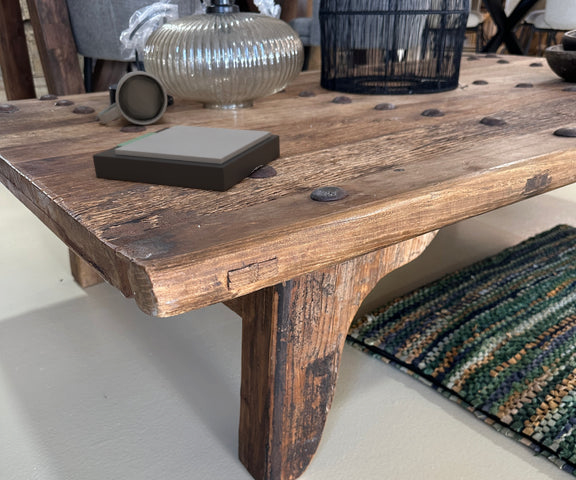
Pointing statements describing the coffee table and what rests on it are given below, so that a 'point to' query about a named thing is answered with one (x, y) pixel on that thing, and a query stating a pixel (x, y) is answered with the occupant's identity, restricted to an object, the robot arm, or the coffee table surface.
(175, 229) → the coffee table surface
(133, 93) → the ceramic mug
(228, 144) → the scale
